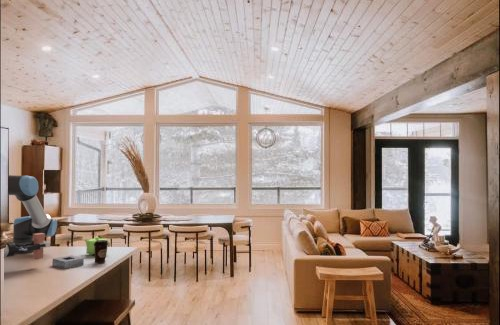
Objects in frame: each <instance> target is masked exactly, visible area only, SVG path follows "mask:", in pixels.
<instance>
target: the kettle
mask: <svg viewBox="0 0 500 325" xmlns="http://www.w3.org/2000/svg"><path fill="white" fill-rule="evenodd" d="M83 240H84V241H85V244H86V254H88V256H93V255H95V254H94V253H95V252H94V243H95V241H98V240H107V241H108V238H100V237H99V236H98V237H97V236H95V238H90V239H89V240H88V239H87V238H83ZM107 243H108V245H109V244H110V241H108V242H107Z"/></svg>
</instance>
